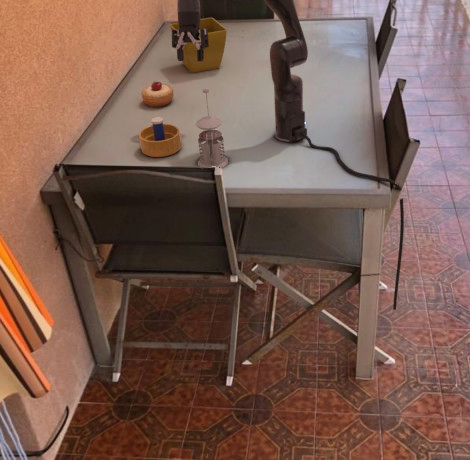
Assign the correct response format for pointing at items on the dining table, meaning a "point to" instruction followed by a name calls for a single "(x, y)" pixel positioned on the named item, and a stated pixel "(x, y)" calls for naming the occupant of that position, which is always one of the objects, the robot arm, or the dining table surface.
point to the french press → (210, 141)
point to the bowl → (160, 147)
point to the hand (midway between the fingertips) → (190, 61)
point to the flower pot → (211, 53)
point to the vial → (158, 129)
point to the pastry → (157, 94)
